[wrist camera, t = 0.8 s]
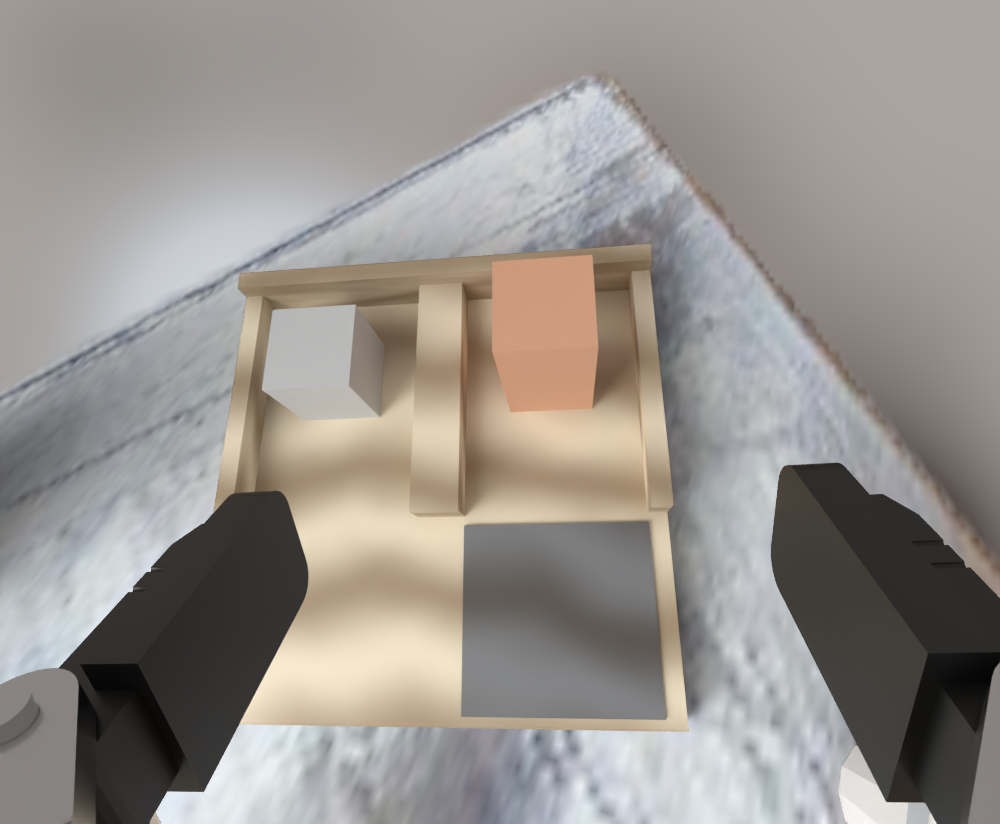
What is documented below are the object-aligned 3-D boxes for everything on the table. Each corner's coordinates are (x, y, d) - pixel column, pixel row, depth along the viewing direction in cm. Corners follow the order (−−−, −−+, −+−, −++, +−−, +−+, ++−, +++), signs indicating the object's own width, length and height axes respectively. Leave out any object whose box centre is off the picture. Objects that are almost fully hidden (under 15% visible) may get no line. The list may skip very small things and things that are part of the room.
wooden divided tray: (681, 723, 28) (702, 746, 24) (227, 716, 31) (165, 735, 26) (640, 291, 36) (650, 243, 31) (280, 314, 39) (240, 273, 34)
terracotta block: (592, 408, 32) (598, 346, 24) (510, 412, 32) (492, 352, 25) (587, 334, 33) (592, 254, 26) (509, 339, 34) (492, 261, 26)
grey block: (380, 417, 33) (348, 385, 29) (304, 420, 34) (261, 389, 29) (384, 346, 35) (355, 304, 30) (312, 349, 35) (272, 309, 31)
